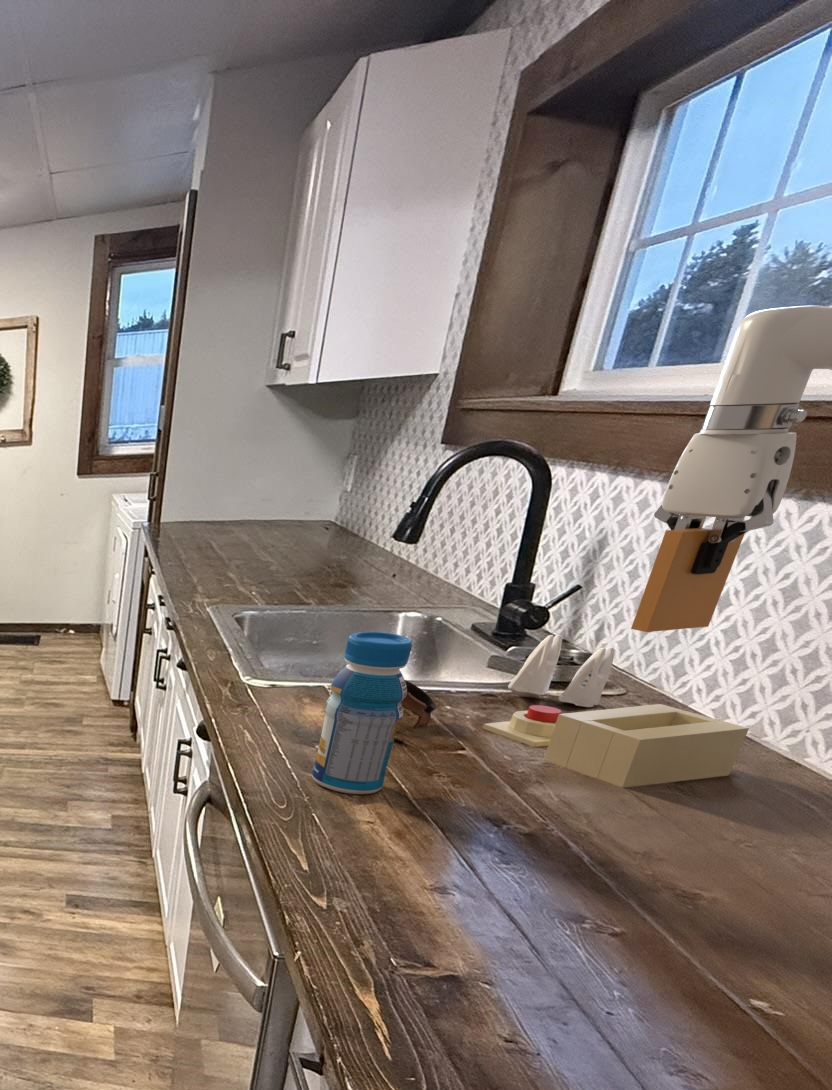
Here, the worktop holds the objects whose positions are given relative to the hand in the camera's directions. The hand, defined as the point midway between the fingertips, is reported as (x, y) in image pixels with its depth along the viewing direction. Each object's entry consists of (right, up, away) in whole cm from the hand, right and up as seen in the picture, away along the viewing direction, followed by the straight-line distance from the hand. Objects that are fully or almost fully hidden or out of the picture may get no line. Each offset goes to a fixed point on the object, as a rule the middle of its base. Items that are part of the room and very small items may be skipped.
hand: (690, 570), depth 108 cm
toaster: (-8, -27, 0) cm, 29 cm away
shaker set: (+7, -15, +28) cm, 33 cm away
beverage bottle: (-45, -28, +2) cm, 53 cm away
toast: (0, -7, +3) cm, 8 cm away
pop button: (-10, -19, +11) cm, 24 cm away
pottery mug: (-26, -19, +21) cm, 39 cm away
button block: (-10, -23, +12) cm, 27 cm away
